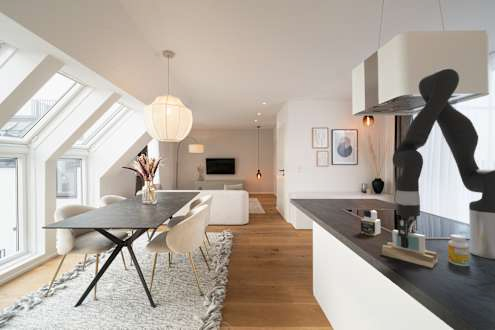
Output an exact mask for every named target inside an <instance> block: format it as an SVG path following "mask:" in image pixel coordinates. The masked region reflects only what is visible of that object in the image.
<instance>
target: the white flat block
mask: <svg viewBox="0 0 495 330" xmlns="http://www.w3.org/2000/svg"><path fill="white" fill-rule="evenodd" d="M403 234H404V232H403ZM392 243H393V247H395V248H399V249H404V250H408V251H412V252H417V253H421V254H425V250H426V235H425V234H419V233H409V237H408V245H409V247H408V248H403V247H401V237H400V236H398V229H393V230H392Z"/></svg>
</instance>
